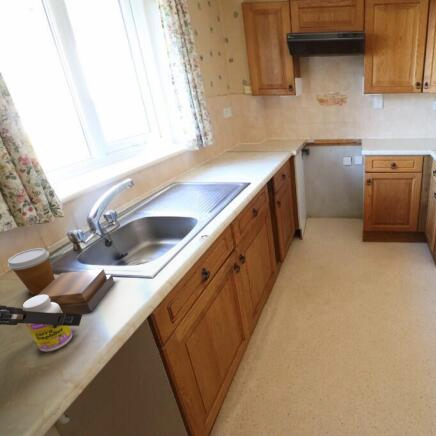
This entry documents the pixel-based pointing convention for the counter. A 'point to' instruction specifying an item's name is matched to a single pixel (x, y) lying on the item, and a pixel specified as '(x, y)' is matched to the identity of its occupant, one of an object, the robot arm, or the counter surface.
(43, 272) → the disposable coffee cup
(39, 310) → the supplement bottle
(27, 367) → the counter surface
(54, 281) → the board stack
